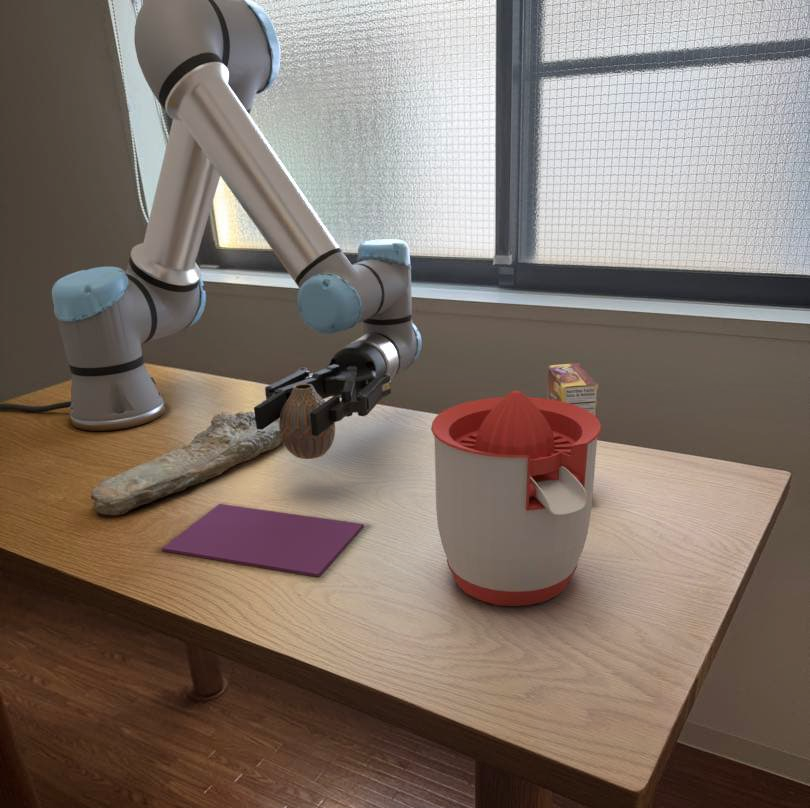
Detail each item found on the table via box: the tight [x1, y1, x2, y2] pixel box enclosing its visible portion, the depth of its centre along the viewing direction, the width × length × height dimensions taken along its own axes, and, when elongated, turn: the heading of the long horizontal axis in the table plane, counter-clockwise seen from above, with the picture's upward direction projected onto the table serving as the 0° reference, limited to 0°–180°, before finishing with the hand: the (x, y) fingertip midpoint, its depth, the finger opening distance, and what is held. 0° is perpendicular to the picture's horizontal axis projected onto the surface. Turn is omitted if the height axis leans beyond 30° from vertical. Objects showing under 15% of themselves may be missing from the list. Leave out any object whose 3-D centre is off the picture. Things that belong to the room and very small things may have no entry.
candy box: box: [547, 363, 599, 417], centre depth 93 cm, size 9×4×15 cm, turn 2°
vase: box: [279, 383, 336, 460], centre depth 95 cm, size 7×7×9 cm
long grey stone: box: [90, 411, 283, 517], centre depth 107 cm, size 35×5×10 cm
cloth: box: [161, 503, 365, 578], centre depth 89 cm, size 20×12×1 cm, turn 69°
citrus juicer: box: [430, 390, 602, 607], centre depth 74 cm, size 16×17×20 cm
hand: (285, 421), depth 90 cm, fingers closed on vase, 7 cm apart
